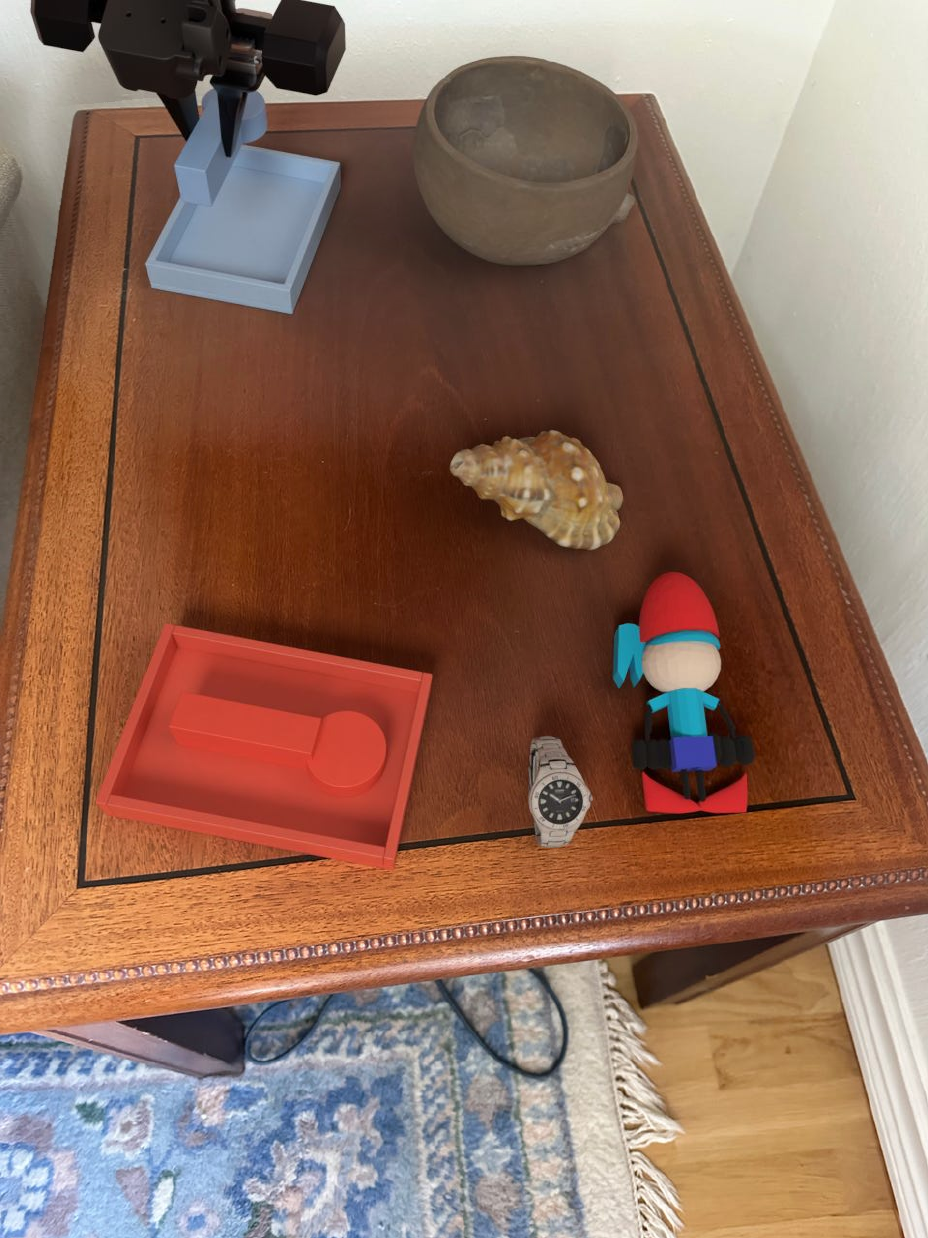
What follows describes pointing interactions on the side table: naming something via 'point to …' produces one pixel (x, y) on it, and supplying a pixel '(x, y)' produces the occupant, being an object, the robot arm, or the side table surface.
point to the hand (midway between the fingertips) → (213, 150)
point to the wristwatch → (555, 793)
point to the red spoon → (287, 740)
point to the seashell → (545, 487)
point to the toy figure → (680, 695)
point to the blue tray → (250, 232)
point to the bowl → (524, 159)
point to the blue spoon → (214, 149)
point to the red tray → (256, 790)
